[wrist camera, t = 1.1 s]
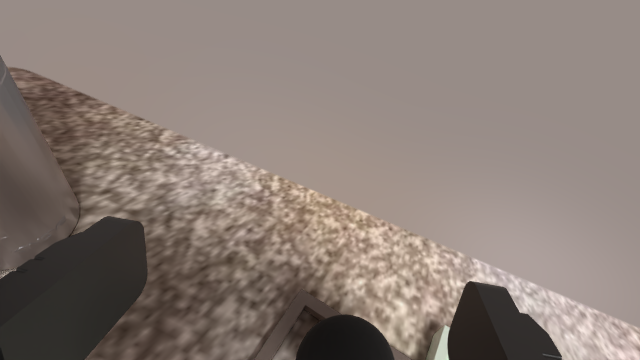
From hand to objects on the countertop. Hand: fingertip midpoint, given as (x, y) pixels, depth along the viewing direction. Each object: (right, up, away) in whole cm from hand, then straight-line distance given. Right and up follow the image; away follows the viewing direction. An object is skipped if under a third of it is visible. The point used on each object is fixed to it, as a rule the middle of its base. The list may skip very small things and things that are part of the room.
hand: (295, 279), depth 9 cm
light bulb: (+1, -13, +17) cm, 22 cm away
